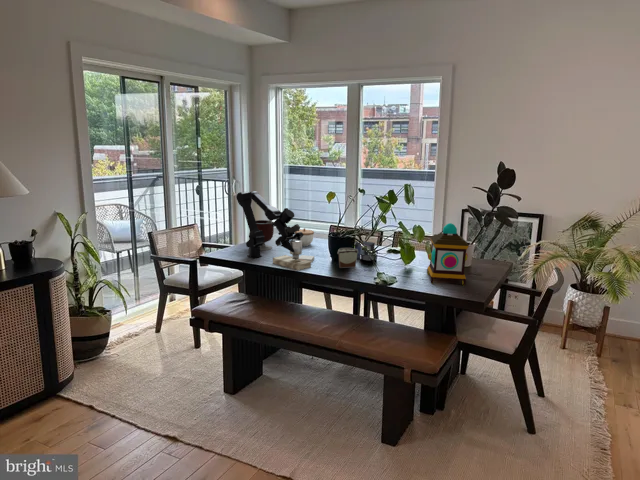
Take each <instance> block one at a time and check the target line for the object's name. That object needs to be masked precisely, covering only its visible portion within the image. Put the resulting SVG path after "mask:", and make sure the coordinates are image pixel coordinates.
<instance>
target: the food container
mask: <svg viewBox="0 0 640 480" xmlns="http://www.w3.org/2000/svg"><path fill="white" fill-rule="evenodd" d="M358 253H359V252H358V249H355V247H354V248H352V247H340V248H339V249H338V250H337V253H336V254H337V255H338V265H339V266H338V267H339V269H346V268H356V267H357V261H358V260H357V254H358Z"/></svg>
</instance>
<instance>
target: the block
mask: <svg viewBox="0 0 640 480" xmlns="http://www.w3.org/2000/svg"><path fill="white" fill-rule="evenodd" d="M299 259H303V260H306V261H310V262H311V264H312V263H313V262H314V260H315V255H305V254H301V255H299Z"/></svg>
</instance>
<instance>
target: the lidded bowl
mask: <svg viewBox="0 0 640 480" xmlns="http://www.w3.org/2000/svg"><path fill="white" fill-rule="evenodd" d="M297 232H302V233H303V234H304V235H303V236H302V238H301V239H300V240H301V241H302V247H307V246H308V245H309V246H310V245H311V244H312V243H313V240H314V235H315V234H314V233H315V232H314V230H311V229H306V228H303V229H299V231H297ZM297 232H295V234H296V233H297ZM295 234H294V235H295ZM309 246H308V247H309Z"/></svg>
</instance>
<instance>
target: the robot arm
mask: <svg viewBox="0 0 640 480" xmlns="http://www.w3.org/2000/svg"><path fill="white" fill-rule="evenodd" d="M236 200H237V203H238V205H239V206H240V207H241V208H242V210H243V213H244V217H245V219H246V223H247V226H248V229H249V234H248V241H246V243H245V245H246V248H248V255H247V257H248V258H252V259H256V258H261V257H263V256H262V255H261V250H260V247H259V246H262V245H263V242H264V237H265V236H264V235H263V231H262V230H261V231H260V230H259V229H258V227H257V224H256V221H255V220H256V218H255V215H254V214H255V213H254V211H253V208H252V201H253V202H255V204H256V205H257V206H258V207H260V209H261V210H262V211H263V212H264V215H265V217H266V218H267V220H272V221H273V222H272V227H275V228H276V230H277V231H278V235H279V237H277V239H276V240H275V242H274V243H275V245H276V247H278V246H279V247H282V248H284V249H286V250H288V251H289V252H290V251H291V252H293V253H294V249H293V248H292V246H291V244H290V240H300V239H301V238H302V236H303V235H304V234H303V233H302V232H297V231H299V230H301V226H300V224H298V223H295V224H294V225H293V226H290V225H289V226H288V224H289V223H290V222H291V221H292V220H293V219H294V218H295V215H296V214H295V212H294V211H292V210H291V209H289V208H288V207H285V208H284V209H283V211H281V210H280V209H278V208H277V207H276V206H273V205H271V204H270V203H268V201H267V200H266V199H265V198H264V197H262V195H260V193H259V192H258V191H256V190H255V191H241V192H237V194H236ZM295 232H297V233H296V234H295Z"/></svg>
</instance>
